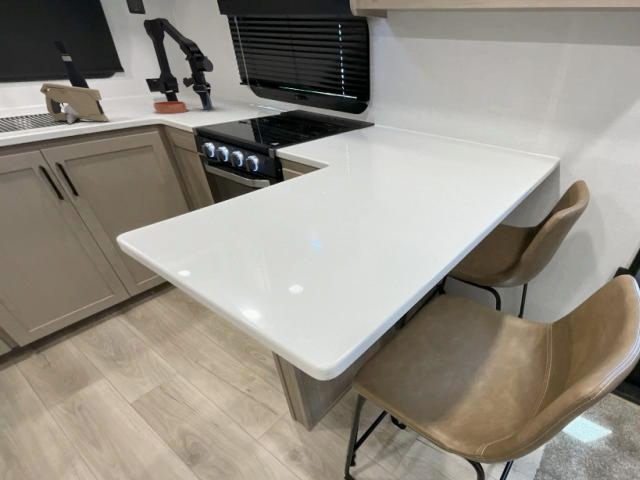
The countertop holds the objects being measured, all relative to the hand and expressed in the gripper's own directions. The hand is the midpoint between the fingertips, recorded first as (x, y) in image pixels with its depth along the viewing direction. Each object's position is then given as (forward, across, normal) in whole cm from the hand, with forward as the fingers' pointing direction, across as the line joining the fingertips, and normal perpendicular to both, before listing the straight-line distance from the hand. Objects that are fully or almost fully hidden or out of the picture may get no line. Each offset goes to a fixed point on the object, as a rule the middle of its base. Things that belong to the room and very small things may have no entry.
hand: (207, 104), depth 186 cm
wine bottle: (+3, +4, -55) cm, 55 cm away
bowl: (+2, +4, -18) cm, 19 cm away
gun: (+2, +28, -50) cm, 58 cm away
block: (+2, 0, 0) cm, 2 cm away
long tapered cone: (+3, +26, -54) cm, 60 cm away
